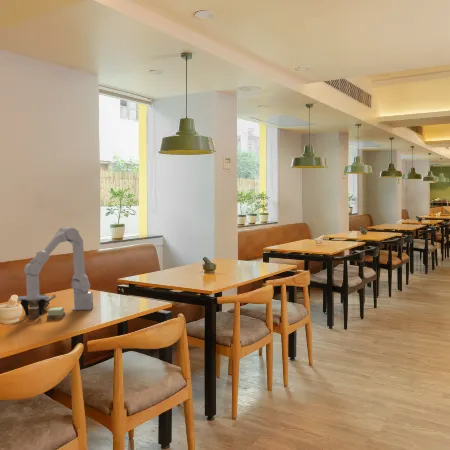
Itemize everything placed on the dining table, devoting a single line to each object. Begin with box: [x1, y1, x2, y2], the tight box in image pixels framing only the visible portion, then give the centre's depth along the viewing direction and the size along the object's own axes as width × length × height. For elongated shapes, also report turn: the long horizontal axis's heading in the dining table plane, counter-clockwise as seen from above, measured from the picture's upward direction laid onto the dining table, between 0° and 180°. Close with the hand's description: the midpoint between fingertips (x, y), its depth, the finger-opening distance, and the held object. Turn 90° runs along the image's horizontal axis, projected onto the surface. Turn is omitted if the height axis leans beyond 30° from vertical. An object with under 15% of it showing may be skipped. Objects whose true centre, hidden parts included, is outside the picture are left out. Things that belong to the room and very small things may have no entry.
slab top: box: [47, 306, 65, 316], centre depth 238 cm, size 6×6×2 cm
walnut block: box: [28, 307, 41, 320], centre depth 238 cm, size 4×4×5 cm
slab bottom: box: [46, 311, 66, 321], centre depth 238 cm, size 7×7×2 cm
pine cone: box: [28, 292, 57, 311], centre depth 255 cm, size 22×10×10 cm, turn 172°
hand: (34, 315), depth 238 cm, fingers open, 6 cm apart
